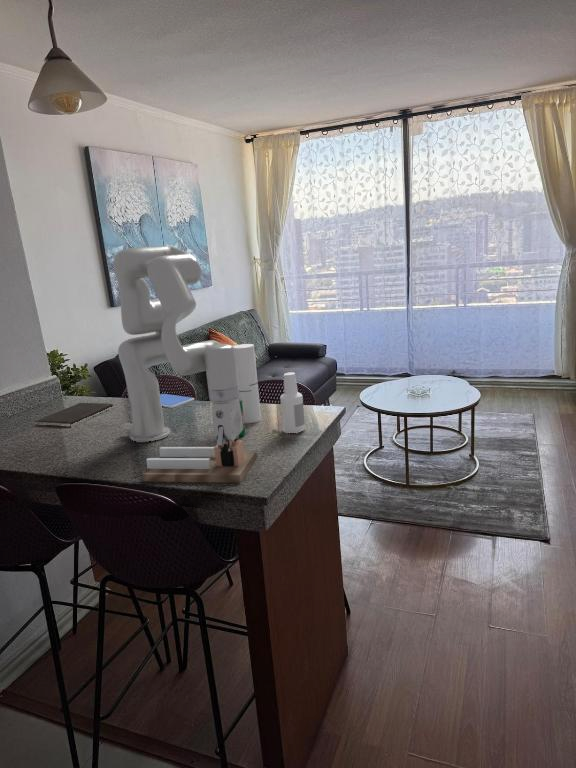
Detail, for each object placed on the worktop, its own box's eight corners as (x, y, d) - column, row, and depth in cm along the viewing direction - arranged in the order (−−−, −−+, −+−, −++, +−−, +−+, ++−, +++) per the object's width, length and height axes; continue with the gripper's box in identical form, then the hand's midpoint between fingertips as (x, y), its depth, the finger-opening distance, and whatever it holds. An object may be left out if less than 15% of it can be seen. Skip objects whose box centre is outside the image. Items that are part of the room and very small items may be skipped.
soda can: (243, 438, 166) (239, 400, 163) (227, 438, 167) (222, 400, 164) (247, 432, 171) (243, 395, 168) (232, 432, 172) (227, 395, 169)
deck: (142, 481, 140) (141, 474, 140) (168, 457, 155) (167, 450, 155) (240, 482, 135) (239, 475, 134) (257, 457, 150) (256, 450, 149)
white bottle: (307, 432, 166) (302, 374, 162) (284, 435, 166) (279, 377, 161) (302, 425, 173) (298, 370, 169) (281, 428, 172) (276, 372, 168)
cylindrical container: (265, 419, 182) (258, 345, 176) (246, 424, 179) (238, 349, 172) (254, 415, 188) (246, 343, 182) (235, 420, 184) (227, 346, 178)
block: (216, 465, 141) (214, 447, 140) (222, 458, 146) (220, 440, 145) (238, 465, 140) (236, 447, 139) (244, 458, 145) (242, 440, 143)
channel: (147, 468, 143) (146, 459, 142) (162, 455, 152) (160, 447, 151) (209, 469, 139) (208, 459, 139) (220, 455, 148) (219, 446, 147)
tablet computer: (138, 404, 217) (138, 400, 217) (163, 395, 227) (163, 392, 226) (171, 409, 205) (170, 406, 205) (195, 400, 215) (195, 397, 215)
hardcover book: (36, 427, 198) (35, 421, 197) (81, 408, 218) (80, 402, 218) (71, 429, 192) (70, 422, 191) (114, 409, 212) (113, 403, 212)
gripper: (227, 403, 129) (235, 474, 134) (247, 384, 145) (254, 449, 150) (197, 403, 131) (206, 474, 135) (220, 385, 147) (227, 449, 152)
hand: (231, 460), depth 143 cm, fingers closed on block, 5 cm apart
